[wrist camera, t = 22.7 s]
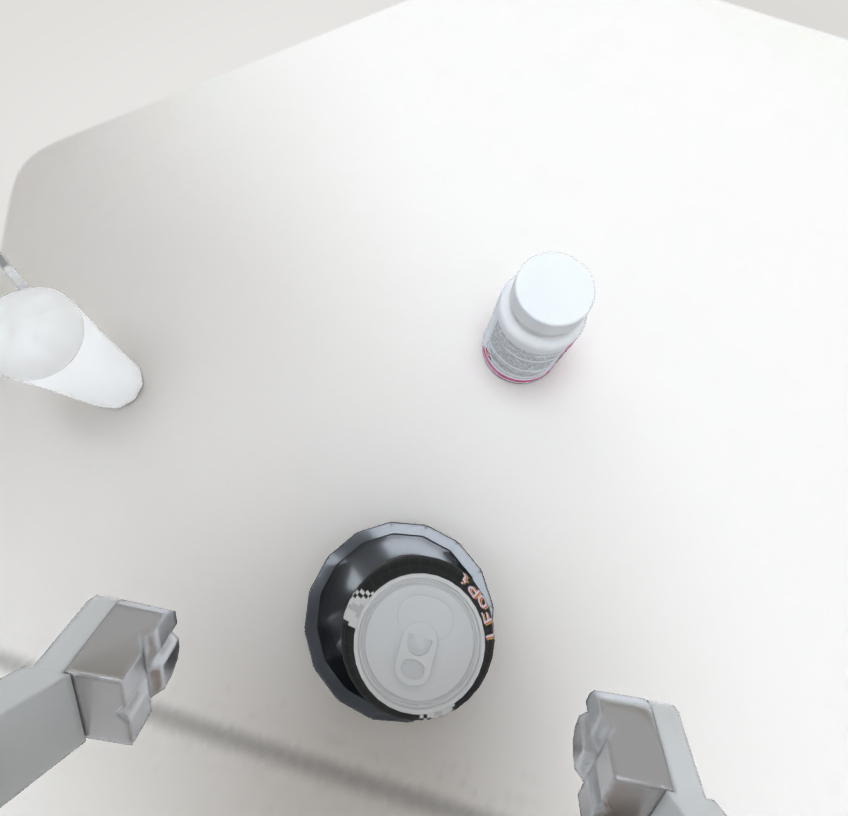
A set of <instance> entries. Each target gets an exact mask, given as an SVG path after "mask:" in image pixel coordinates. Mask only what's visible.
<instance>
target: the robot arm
mask: <svg viewBox="0 0 848 816" xmlns="http://www.w3.org/2000/svg"><path fill="white" fill-rule="evenodd" d="M176 624H177V619H176V612H175V611H172V610H168V609H163V608H159V607H154V606H149V605H145V604H140V603H135V602H131V601H126V600H122V599H117V598H112V597H107V596H102V595H96V596H94V597H93V598H91V599H90V600H88V601H87V602H86V604H85V605H84V606H83V607H82V608H81V610H80V611H79V612H78V613H77V614H76V616H75V617H74V618H73V619H72V620H71V622H70V623H69V624H68V625H67V627H66V628H65V629H64V630H63V631H62V633H61V634H60V635H59V636H58V637H57V639H56V640H55V641H54V642H53V643H52V645H51V646H50V647H49V648H48V649H47V651H46V652H45V653H44V654H43V656H42V657H41V658H40V659H39V660H38V662H37V663H36V664H35V665H34V666H33V667H31V666H24V667H22V668H20V669H18V670H16V671H14V672H12V673H11V674H9V675H7V676H5V677H3V678H1V679H0V808H1V807H2V806H3V805H4V804H6V803H7V802H8V801H10V800H11V799H12V798H13V797H15V796H16V795H17V794H19V793H20V792H21V791H22V790H24V789H25V788H26V787H28V786H29V785H30V784H31V783H33V782H34V781H35V780H37V779H38V778H39V777H40V776H42V775H43V774H44V773H46V772H47V771H48V770H49V769H51V768H52V767H53V766H54V765H56V764H57V763H58V762H60V761H61V760H62V759H63V758H65V757H66V756H67V755H69V754H70V753H71V752H72V751H74V750H75V749H76V748H78V747H79V746H80V745H81V744H83V743H84V742H85V741H86V738H90V739H96V740H102V741H108V742H114V743H120V744H126V745H133V743H134V741H135V739H136V738H137V736H138V734H139V732H140V731H141V729H142V727H143V725H144V724H145V722H146V720H147V718H148V717H149V715H150V713H151V711H152V709H151V701H150V698H151V697H153V696H154V695H156V694H157V693H159V692H160V691H162V690H163V689H164V688H165V687H166V685H167V683H168V681H169V679H170V677H171V676H172V673H173V670H174V668H175V665H176V662H177V659H178V653H179V638H178V637H177V636H176V635H175V634H174V633H173V632H172V630H173V629H174V627H175V626H176ZM586 705H587V711H588V712H586V713H584V714H582V715H580V716H579V718H578V721H577V723H576V726H575V730H574V737H573V759H574V768H575V770H576V772H577V773H578V774H579V776H580V777H581V779H582V780H583V782H584V783H583V785H582V787H581V789H580V791H579V793H578V799H579V807H580V814H581V816H727V815H726V814H725V813H724V811H723V810H722V809H721V808H720V807H719V805H718V804H717V803H716V802H715V801H714V800H711V799H707V798H706V797H705V794H704V791H703V788H702V784H701V781H700V778H699V775H698V772H697V769H696V765H695V762H694V759H693V756H692V753H691V750H690V747H689V743H688V740H687V737H686V734H685V731H684V728H683V725H682V721H681V718H680V715H679V712H678V710H677V709H676V708H675V706H673V705H670V704H665V703H659V702H653V701H648V700H645V699H642V698H636V697H630V696H624V695H619V694H613V693H607V692H602V691H596V690H594V691H592V692H591V693H590V694H589V696H588V698H587V700H586Z"/></svg>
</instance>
